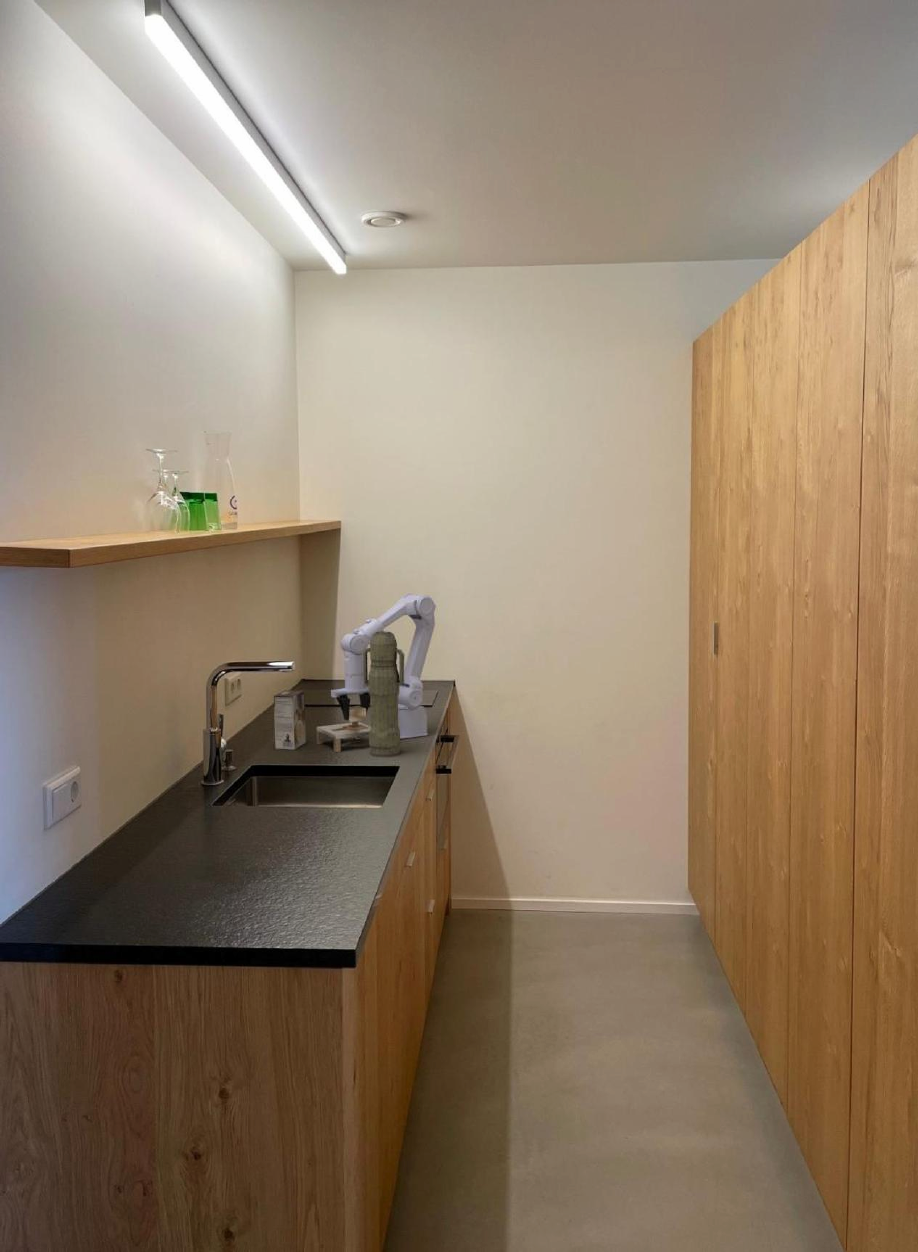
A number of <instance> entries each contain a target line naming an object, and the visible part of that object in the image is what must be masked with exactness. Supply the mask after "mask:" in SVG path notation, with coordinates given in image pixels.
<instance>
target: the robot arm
mask: <svg viewBox="0 0 918 1252" xmlns="http://www.w3.org/2000/svg"><path fill="white" fill-rule="evenodd" d="M436 608H437V605H436V604H435V602H434V599H433V598H432V597H430V595H427V594H426V595H421V594H413V593H407V594H405V595H404V596H403V597H401V598H399V599H398V601H397V602H396V603H395V604H394V605H393V606H392V607H390V608H389V609H388V610H387V611H386V612H384V613H383V614H382V615H381V616H380V617H378V618H377V619H375V618H370V619H366V620H365V621H364V622H365V623H364V624H362V625H361V626H359V627H358V628H355V629H353V633H347V634H346V635H344V636H343V638H342V640H341V642H340V643H339V644H340V649H341V650H342V651H343V655H344V687H343V688H340V689H339V688H337V689H331V690H330V697H331V698H336V701H337V702H338V705H339V706H340V709H341V713H342V715H343V720H344V721H347V720H349V707H350V705H351V704H350V703H351V698H350V696H358V697H359V703H360V707H363V708H366V716H367V715H368V710H369V708H370V706H371V705H370V694H369V686H365V684H364V659H363V653H364V652H365V650H366V649H367V648H369V646H370V642H371V638H372V635H373V634H375V632H385V631H384V630H385V628H387V627H388V626H390V625H392V623H394V622H396V621H398V620H399V619H400V618H402V617H403V616H408V617H409V618H410V619H411V620H412V621H413V623H414V624H415V630H414V633H413V634H414V635H413V638H412V640H411V644H410V647H409V650H408V655H407V659H406V662H405V664H404V683H403V684H402V685H401V686H399V690H400V692H399V695H398V727H399V729H400V740H401V739H402V740H403V739H408V738H409V739H411V738H417V737H424V736H425V737H426V736H429V733H428V716H427V715H428V714H427V710H426V707H424V705H421V704H422V702H423V699H424V695H423V693H424V692H423V691H424V690H423V689H424V685H423V682H422V681H421V677H422V676H421V675H422V672H423V669H424V665H425V663H426V659H427V654H428V651H429V647H430V643H431V641H432V636H433V634H434V633H433V632H434V630H435V625H436V622H435V620H436V619H435V612H436ZM399 681H400V676H399Z"/></svg>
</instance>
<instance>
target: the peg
mask: <svg viewBox="0 0 918 1252" xmlns="http://www.w3.org/2000/svg"><path fill="white" fill-rule="evenodd" d="M347 721H348V722H349V723H352V725H348V726H347V729H346V730H349V731H352V730H360V729H364V726H363V725H358V722H361V721H367V715H366V708H363V707H361V705H356V706H349V720H346V722H347Z"/></svg>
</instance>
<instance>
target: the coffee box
mask: <svg viewBox="0 0 918 1252" xmlns="http://www.w3.org/2000/svg"><path fill="white" fill-rule="evenodd" d="M305 701H306V700H305V690H291V689H290V690H288V689H287V690H283V691H280V692H279V693H277V694H275V695H273V712H274V714H273V715H274V740H275V741H274V743H275V746H274V748H275V749H276V750H296V749H298V748H299V747H301V746H302V745H304V744H306V743H307V739H306V738H307V737H306V736H307V735H306V733H307V731H306V705H305V704H306V702H305Z"/></svg>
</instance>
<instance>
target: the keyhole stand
mask: <svg viewBox="0 0 918 1252" xmlns="http://www.w3.org/2000/svg"><path fill="white" fill-rule="evenodd" d="M348 725H352V722H347V723H337V724H332V725H331V724H329V725H322V726H316V743H317V744H318V745H323V744H322V743H324V741H325V739H324V735H326V736H328V737H330V738H333V739H332V740H333V752H334V753H336V752H337V753H341V752H342V750H341V739H347V738H354V739H355V738H361V739H362V736H369V732H370V729H371V725H368V724H365V723H363V722H361V721H358V725H363V726H364V729H360V730H352V731H349V730H347V726H348Z"/></svg>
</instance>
